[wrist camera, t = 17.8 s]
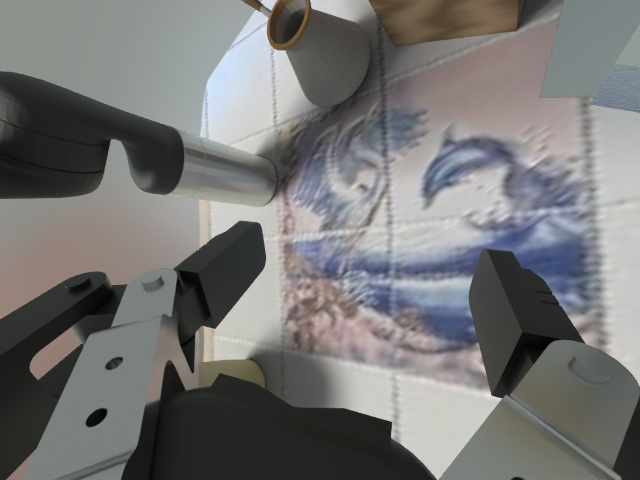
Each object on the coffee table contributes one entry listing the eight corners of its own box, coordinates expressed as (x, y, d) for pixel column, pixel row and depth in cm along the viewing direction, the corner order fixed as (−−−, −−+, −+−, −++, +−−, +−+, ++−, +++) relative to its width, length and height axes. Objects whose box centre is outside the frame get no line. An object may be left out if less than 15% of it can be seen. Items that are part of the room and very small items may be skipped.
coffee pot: (393, 51, 37) (338, -44, 25) (345, 127, 42) (277, 79, 29) (301, 4, 46) (226, -83, 34) (268, 70, 50) (191, 15, 38)
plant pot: (290, 417, 48) (209, 485, 35) (238, 420, 55) (155, 476, 42) (267, 332, 51) (184, 364, 38) (221, 346, 59) (138, 377, 45)
